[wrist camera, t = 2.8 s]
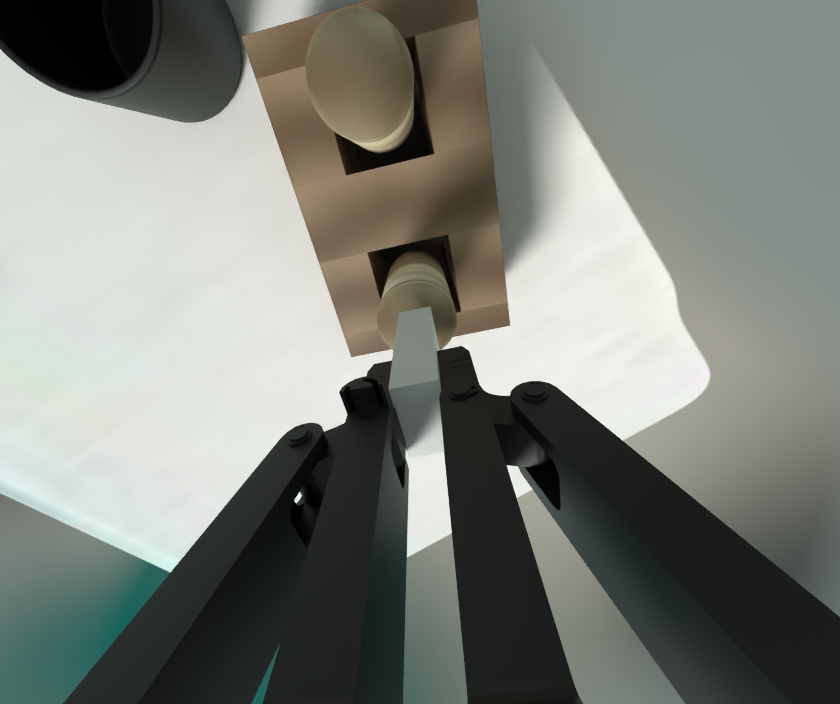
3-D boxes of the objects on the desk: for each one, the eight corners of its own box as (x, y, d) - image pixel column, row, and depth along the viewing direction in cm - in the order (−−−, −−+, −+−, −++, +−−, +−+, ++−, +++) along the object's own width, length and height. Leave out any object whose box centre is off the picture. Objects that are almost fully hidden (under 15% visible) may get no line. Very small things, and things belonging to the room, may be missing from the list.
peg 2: (381, 257, 24) (366, 291, 17) (438, 244, 23) (449, 274, 16) (395, 311, 26) (388, 363, 18) (449, 300, 25) (462, 348, 18)
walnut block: (291, 76, 25) (241, 36, 18) (455, 31, 24) (473, -31, 17) (364, 318, 33) (351, 357, 26) (488, 292, 32) (509, 325, 25)
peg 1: (335, 80, 19) (288, 23, 12) (405, 61, 19) (399, -8, 12) (356, 160, 21) (326, 152, 14) (420, 145, 21) (423, 128, 14)
